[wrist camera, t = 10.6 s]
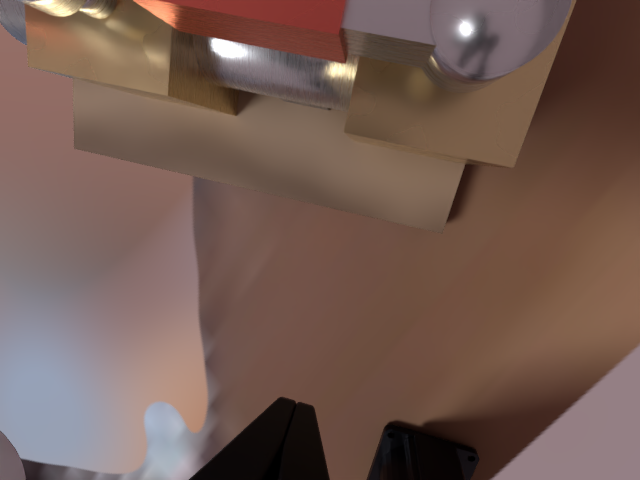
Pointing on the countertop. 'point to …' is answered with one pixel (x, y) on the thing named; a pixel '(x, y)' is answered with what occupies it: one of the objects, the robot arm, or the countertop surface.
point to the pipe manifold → (280, 79)
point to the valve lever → (385, 31)
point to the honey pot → (10, 461)
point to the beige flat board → (269, 153)
